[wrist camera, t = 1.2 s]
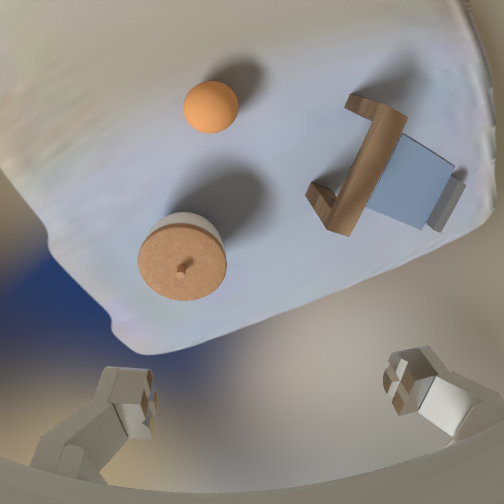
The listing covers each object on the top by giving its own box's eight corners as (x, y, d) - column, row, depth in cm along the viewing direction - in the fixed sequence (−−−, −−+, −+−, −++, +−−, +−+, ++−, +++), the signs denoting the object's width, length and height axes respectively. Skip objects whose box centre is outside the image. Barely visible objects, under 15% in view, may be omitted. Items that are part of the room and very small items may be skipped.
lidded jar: (230, 204, 42) (234, 240, 34) (219, 270, 48) (220, 313, 40) (150, 195, 40) (134, 229, 32) (147, 262, 46) (136, 305, 38)
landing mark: (401, 133, 39) (402, 134, 39) (454, 166, 42) (454, 167, 42) (366, 206, 44) (366, 207, 44) (420, 229, 48) (421, 230, 48)
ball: (195, 74, 33) (191, 75, 28) (243, 88, 34) (248, 92, 29) (179, 120, 36) (173, 129, 31) (227, 134, 37) (228, 145, 32)
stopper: (450, 174, 43) (459, 180, 41) (457, 179, 43) (466, 185, 41) (425, 221, 47) (432, 229, 45) (432, 225, 48) (440, 232, 45)
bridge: (305, 195, 43) (326, 229, 35) (350, 94, 36) (386, 104, 27) (324, 201, 43) (349, 236, 35) (369, 104, 36) (408, 117, 28)
